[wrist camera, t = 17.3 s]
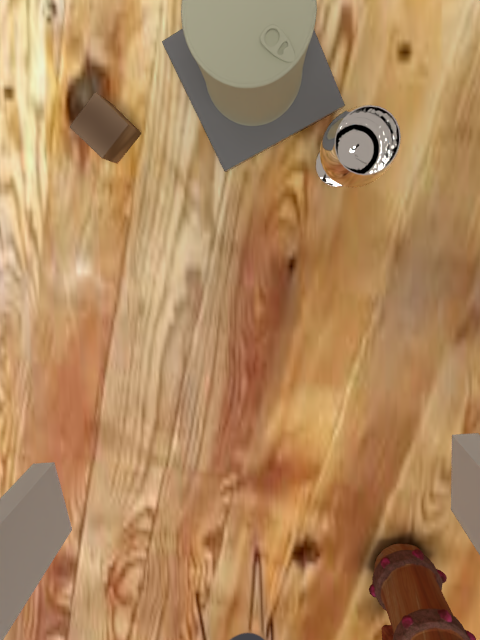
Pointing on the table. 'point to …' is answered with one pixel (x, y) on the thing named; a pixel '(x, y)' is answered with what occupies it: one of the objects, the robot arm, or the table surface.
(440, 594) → the mug
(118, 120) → the walnut block
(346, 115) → the wineglass
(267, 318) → the table surface
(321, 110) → the coaster
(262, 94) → the can
